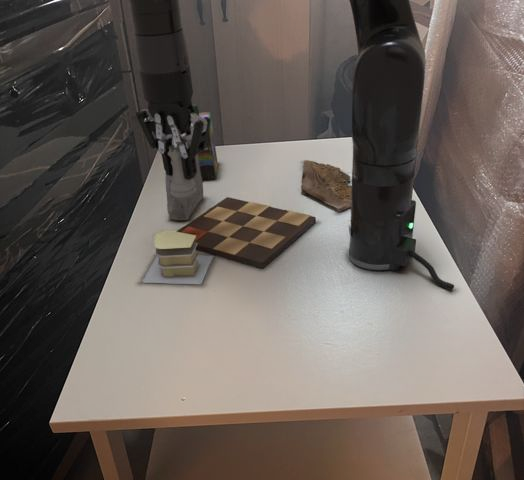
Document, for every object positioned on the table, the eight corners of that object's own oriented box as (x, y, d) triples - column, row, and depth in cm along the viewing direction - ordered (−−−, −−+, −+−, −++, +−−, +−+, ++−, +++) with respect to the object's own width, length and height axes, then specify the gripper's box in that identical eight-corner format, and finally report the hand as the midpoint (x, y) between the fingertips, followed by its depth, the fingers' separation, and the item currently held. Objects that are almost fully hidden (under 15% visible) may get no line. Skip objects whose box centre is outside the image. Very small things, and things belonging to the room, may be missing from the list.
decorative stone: (192, 222, 111) (181, 144, 102) (163, 221, 112) (148, 144, 103) (208, 197, 119) (198, 123, 110) (180, 197, 120) (168, 122, 111)
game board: (315, 222, 108) (315, 216, 107) (262, 269, 97) (262, 262, 96) (227, 202, 117) (227, 196, 116) (169, 242, 106) (168, 236, 105)
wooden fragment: (369, 208, 110) (369, 202, 110) (312, 215, 110) (312, 210, 109) (335, 158, 130) (335, 153, 130) (286, 164, 130) (286, 160, 129)
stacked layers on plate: (213, 256, 101) (209, 227, 97) (201, 284, 94) (196, 254, 91) (157, 254, 102) (152, 226, 99) (141, 282, 96) (134, 253, 92)
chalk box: (217, 163, 133) (209, 95, 124) (216, 180, 126) (208, 109, 116) (177, 166, 133) (166, 98, 124) (174, 183, 126) (162, 112, 117)
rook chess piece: (177, 187, 102) (169, 141, 97) (201, 188, 101) (194, 142, 96) (166, 198, 99) (158, 151, 94) (191, 199, 98) (184, 152, 92)
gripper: (111, 67, 88) (135, 177, 99) (184, 75, 81) (201, 192, 92) (145, 54, 93) (164, 161, 103) (216, 62, 86) (228, 174, 97)
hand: (181, 175), depth 98 cm, fingers closed on rook chess piece, 3 cm apart
